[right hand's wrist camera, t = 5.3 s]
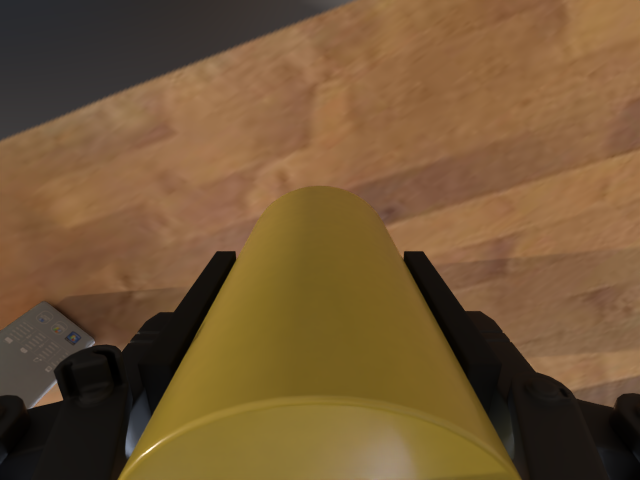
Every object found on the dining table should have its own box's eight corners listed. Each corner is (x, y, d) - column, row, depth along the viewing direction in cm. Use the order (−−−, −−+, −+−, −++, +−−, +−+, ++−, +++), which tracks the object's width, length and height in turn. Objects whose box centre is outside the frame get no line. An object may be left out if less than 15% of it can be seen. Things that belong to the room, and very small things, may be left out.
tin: (332, 154, 15) (369, 302, 4) (416, 264, 17) (609, 582, 6) (221, 243, 17) (7, 541, 5) (309, 335, 19) (293, 697, 7)
